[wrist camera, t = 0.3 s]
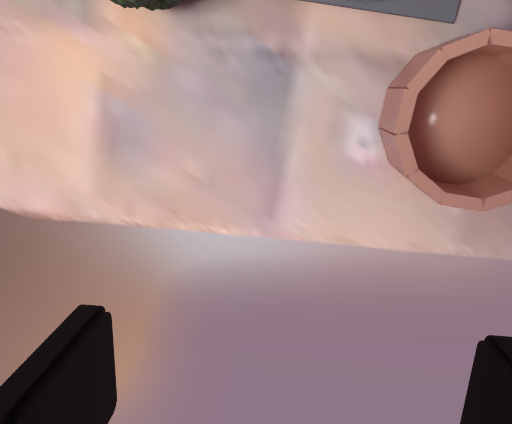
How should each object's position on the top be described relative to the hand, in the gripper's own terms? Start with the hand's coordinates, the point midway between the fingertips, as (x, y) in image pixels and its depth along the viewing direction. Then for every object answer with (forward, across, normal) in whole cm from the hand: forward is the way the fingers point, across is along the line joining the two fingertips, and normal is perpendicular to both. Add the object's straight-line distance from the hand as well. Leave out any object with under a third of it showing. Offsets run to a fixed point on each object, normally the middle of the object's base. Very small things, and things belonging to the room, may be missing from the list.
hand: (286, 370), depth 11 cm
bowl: (+30, -14, -5) cm, 34 cm away
